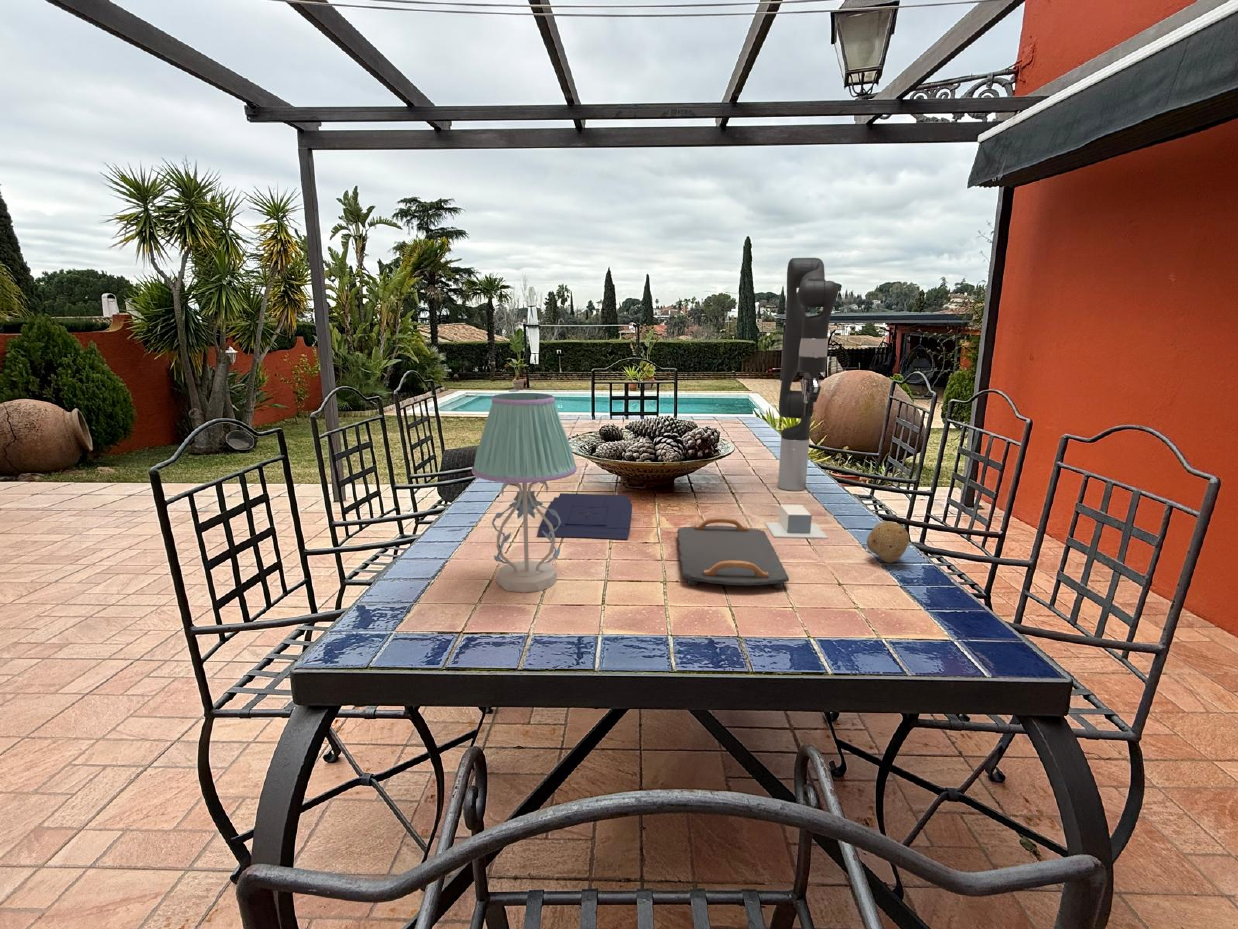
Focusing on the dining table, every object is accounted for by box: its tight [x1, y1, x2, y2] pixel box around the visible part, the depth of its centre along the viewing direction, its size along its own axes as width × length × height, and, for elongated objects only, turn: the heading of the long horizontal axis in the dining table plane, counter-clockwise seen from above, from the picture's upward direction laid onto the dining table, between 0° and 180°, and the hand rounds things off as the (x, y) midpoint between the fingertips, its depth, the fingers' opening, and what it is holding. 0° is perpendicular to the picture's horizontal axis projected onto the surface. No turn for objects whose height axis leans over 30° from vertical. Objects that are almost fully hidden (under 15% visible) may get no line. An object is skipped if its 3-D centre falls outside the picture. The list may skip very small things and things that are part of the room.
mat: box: [764, 521, 829, 540], centre depth 174 cm, size 12×14×1 cm
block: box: [778, 504, 813, 533], centre depth 176 cm, size 5×6×10 cm
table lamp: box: [471, 392, 578, 594], centre depth 135 cm, size 22×22×40 cm
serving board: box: [676, 516, 790, 591], centre depth 152 cm, size 39×23×6 cm, turn 177°
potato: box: [866, 520, 910, 564], centre depth 152 cm, size 9×9×10 cm
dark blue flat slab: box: [536, 492, 633, 540], centre depth 180 cm, size 24×30×4 cm
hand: (808, 416), depth 183 cm, fingers closed
